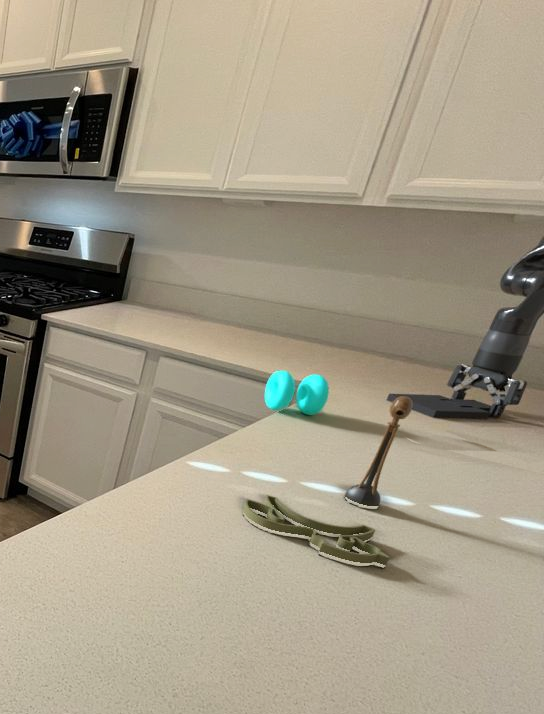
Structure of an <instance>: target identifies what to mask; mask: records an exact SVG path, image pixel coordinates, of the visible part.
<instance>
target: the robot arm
mask: <svg viewBox="0 0 544 714" xmlns="http://www.w3.org/2000/svg"><path fill="white" fill-rule="evenodd" d="M499 289H501V291H502V292H503V293H504V294H506V295H510V296H516V297H521V298H524V299H523V301H521V302H520V303H519V304H518V305H505V306H502V307H500V308H498V309H497V311H496V313H495V315H494V317H493V319H492V322H491V323H490V325H489V328H488V330H487V331H486V333H485V335H484V336H483V338H482V339H481V342H480V344H479V346H478V349H477V350H476V353H475V355H474V357H473V359H472V361H471V362H472V363H471V364H472V366H470V365H468V364H457V365H456V366H455V368H454V370H453V372H452V374H451V375H450V378H449V380H448V381H447V383H446V385H447V387H449V388H451V389H453V393H452V395H451V398H450V399H464V400H465V399H466V398H465V397H466V395H467V391H469V390H471V389H473V388H475V389H481V390H482V391H484V392H488V393H489V394H488V395H489V396H491V397H492V400H493V402H494V403H492V404H491V408H490V410H489V412H490V414H489V416H488V418H493V419H494V418H495V419H498V418H500V417H502V415H503V412H504V411H505V410H506V407H507V406H518V405H519V404H520V402H521V399H522V397H523V396H524V393H525V390H526V387H527V385H528V382H527V381H526V380H517V379H513V375H514V374H515V373H516V372H517V371H518V369H519V367H520V364H521V362H522V360H523V358H524V356H525V354H526V352H527V349H528V348H529V345H530V343H531V339H532V335H534V332H535V330H536V328H537V325H538V323H539V321H540V320H541V318H542V317H543V316H544V235H543V236H542V237H541V239H540V240H539V241H538V243H537V244H536V245H535V246H534V247H533V248H532V249H529V250H528V251H527V252H526V253H525V254H523V256H521V257H520V258H518V259H517V260H516V261H515V262H514V263H513V264H512V265H510V267H508V268H507V269H506V270H505V272H504V273H503V274H502V276H501V277H500V281H499ZM467 375H468V378H466V377H467Z"/></svg>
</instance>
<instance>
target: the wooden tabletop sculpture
mask: <svg viewBox="0 0 544 714" xmlns="http://www.w3.org/2000/svg"><path fill="white" fill-rule="evenodd" d="M412 407H413V401H412V400H411V399H410V398H409V397H405V396H401V397H398V398H396V399H395V400H394V401H393V402H391V405H390V407H389V414H390V417H391V418H392V420H391V421H388V422H387V427H386V430H385V432H384V435H383V438H382V440H381V442H380V445H379V447H378V449H377V451H376V454H375V456H374V458H373V459H372V462H371V463H370V466H369V468H368V470H367V471H366V473H365V475H364V477H362V479H361V482H360V483H358V484H355V485H352V486H351V487H349V488H348V489H347V491H345V494H344V496H345V497H347V498H348V499H350V500H352V501H354V502H357V503H359V504H363V505H367V506H379V507H380V505H381V495H380V493H379V491H378V485H379V481H380V478H381V477H380V476H381V473H382V470H383V467H384V465H385V462H386V459H387V456H388V453H389V451H390V450H391V449H390V448H391V446H392V444H393V442H394V439H395V437H396V435H397V432H398V430H399V428H401V424H399V422H400V420H404V419H406V418H407V417H408V416H409V415H410V414H411V412H412V411H413V410H412Z"/></svg>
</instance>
